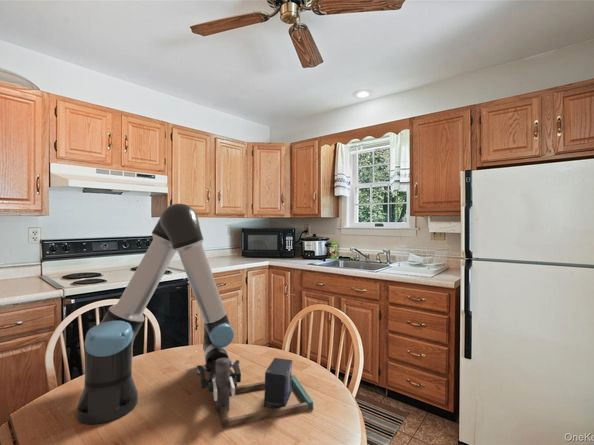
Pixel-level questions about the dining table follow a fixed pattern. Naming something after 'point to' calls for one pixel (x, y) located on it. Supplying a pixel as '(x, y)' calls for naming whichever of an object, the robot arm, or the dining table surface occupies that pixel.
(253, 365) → the dining table surface
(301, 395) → the post and rail frame
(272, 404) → the small box
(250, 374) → the dining table surface
